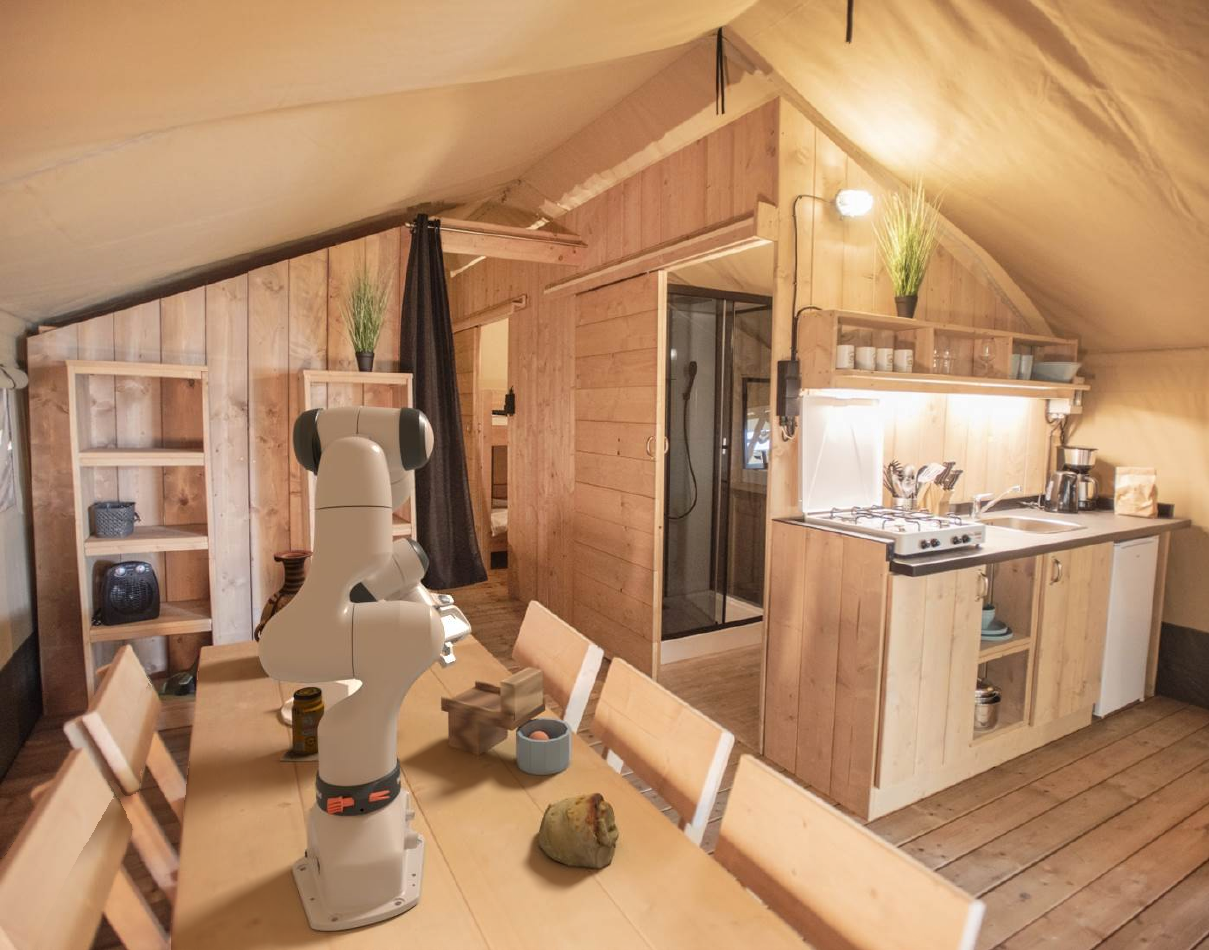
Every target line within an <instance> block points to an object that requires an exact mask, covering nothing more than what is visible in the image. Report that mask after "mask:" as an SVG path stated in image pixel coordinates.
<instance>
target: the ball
mask: <svg viewBox="0 0 1209 950" xmlns="http://www.w3.org/2000/svg"><path fill="white" fill-rule="evenodd" d="M529 738H530V739H532V740H549V738H548V736H547V735H546V734H545V733H544V732H541V731H536V732H534V733H532V734H531V735H530V736H529Z"/></svg>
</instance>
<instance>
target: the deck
mask: <svg viewBox="0 0 1209 950" xmlns="http://www.w3.org/2000/svg"><path fill="white" fill-rule="evenodd" d="M440 707H441V708H440V710H441V711H442V712H446V713H447V723H448V726H447V727H448V729H447V730H448V734H447V735H448V747H451V748H454V749H458V750H461V751H463V752H467V753H470V754H474V755H477V756H480V755H482V754H484V753H485V752H487V751H488V750H490V749H492V748H493V747H495V746H497V745H498V744H500V743H501V742H500V741H502V742H504V741H505V740H506V739H508V738H509V735H508V734H509V733H508V731H511V732H512V731H514V730H515V729H516V730H517V728H518V727H519V726H521V725H523V724H524V723H526V722H527V721H529V720H532V719H535V718H536V717H538V716H539V715H540V714H542V713H544V712H545V711H546V697H545V696H543V704H542V705H541V706H539V707H537V708H536V709H534V710H532V711H531V712H529V713H527V714H525V715H524V716H522V717H520V718H519V719H517V720H514V716H513V715H509V714H505V713H502V712H501V695H500V685H498V684H493V683H489V682H485V681H482V680H474V686H473V687H471V688H470V689H467V690H465V691H463V692H461V693H459V694H457V695H455V696H452V697H451V698H450V697H446V696H441V697H440ZM507 737H508V738H507ZM504 739H505V740H504ZM499 742H500V743H499ZM496 744H497V745H496Z"/></svg>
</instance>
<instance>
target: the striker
mask: <svg viewBox="0 0 1209 950" xmlns="http://www.w3.org/2000/svg"><path fill="white" fill-rule="evenodd" d="M543 675H544V670H543V669H539V668H535V667H531V666H528V667H526V668H523V669H522V670H520V671H518V672H516V673H514V674H512V675H509V676H508V677H506V678H504V679H502V680H500V683H499V684H500V685H499V686H500V695H501V712H502V713H505V714H509V715H513V716H514V720H517V719H519V718H520V717H522V716H524V715H525V714H527V713H529V712H531V711H532V710H534V709H536V708H537V707H539V706H541V705H542V704H543V697H544V676H543Z"/></svg>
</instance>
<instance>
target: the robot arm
mask: <svg viewBox="0 0 1209 950" xmlns="http://www.w3.org/2000/svg"><path fill="white" fill-rule="evenodd" d="M429 421H430V420H429V418H428V416H427V415H426V414H425V413H423V411H421V409H417V408H412V407H407V406H406V407H405V406H403V407H401V408H398V407H397V408H395V407H385V406H384V407H383V406H364V405H352V406H351V405H350V406H339V407H331V408H325V409H324V408H323V407H318V408H314V409H313V408H312V409H309V410H305V411H302V413H300V415H299V416H297V418H296V420H295V422H294V423H293V430H292V436H291V442H292V443H291V445H292V448H293V452H294V454H295V458H296V461H297V463H299V464H300V466H302V467H303V468H304V469H305V470H306V471H309V472H312V473H313V475H314V476H316V481H315V492H314V528H313V529H314V533H313V534H314V535H313V547H312V548H313V549H312V552H313V555H312V557H311V563H310V567H309V570H308V573H307V576H306V578H305V582H304V584H303V585H302V587H301V589H300V590H299V592H298V593H297V594H296V595H295V597H294V598H293V599H292V600H291V601H290V602H289V603H288V604H287V605H286V606H285V607H284V608H283V609H281V610H280V611H279V612H277V613H276V614H275V615H274V616H273V617H272V618H271V619H270V620H269V621H268V622H267V624H266V625H265V627H264V629H263V630H262V633H261V635H260V634H259V638H260V639H259V643H257V644H258V645H257V646H258V647H257V651H258V652H257V653H258V658H259V662H260V664H261V666H262V669H263V671H264V672H265V673H266V674H267V675H268V676H269V677H270V678H271V679H272V680H273V681H278V682H279V681H280V682H285V683H286V682H287V683H296V684H302V683H318V682H329V681H340V680H351V679H355V680H360V681H361V682H362V685H361V687H360V688H359V689H358V690H357V691H356V692H354V693H353V694H351V695H350V696H348V697H346V698H344V699H342V700H341V701H339V702H337V703H336V704H335V705H333V706H332V707H331V708H330V709H329V710H327V711H326V713H325V714H324V715H323V717H322V718H321V720H320V722H319V725H318V760H317V761H318V770H317V771H316V775H315V782H314V789H315V799H316V801H315V802H314V804H313V805H312V806H311V807H310V808H309V809H308V810H307V812H306V819H305V820H306V822H305V824H306V849H305V851H304V856H302V857H300V858H299V859H297V860H296V861H295V862H294V863H293V864H292V875H293V878H294V881H295V885H296V887H297V890H298V893H299V896H300V899H301V902H302V905H303V909H304V911H305V914H306V916H307V921H308V923H309V926H310V928H311V929H312V930H316V931H326V932H327V931H329V932H330V931H341V930H342V931H343V930H348V929H355V928H358V927H363V926H367V925H371V924H374V923H378V922H382V921H385V920H388V919H390V918H393V917H395V916H397V915H400V914H402V913H404V912H406V911H408V910H410V909H411V908H412V907H414V906H415V905H417V904H418V903H419V902H420V899H421V890H422V879H423V871H424V870H423V867H424V859H425V848H426V840H425V836H424V835H423V834H422V833H421V834H420V833H419V832H418V830H415V828H411V827H412V825H411V821H414V820H415V819H414V817H415V810H414V809H411V802H410V799H411V797H410V792H409V791H408V790H406V789H405V788H403V787H402V780H401V779H402V769H401V768H402V767H400V766H401V763H400V759H399V757H397V756H398V750H397V749H398V747H397V745H398V743H397V742H398V725H399V716H400V711H401V708H402V705H403V702H404V700H405V698H406V696H407V694H408V693H409V691H410V690H411V687H412V686H413V685H414V683H415V682H416V681H417V680H418V679H419V678H420V677H421V676H422V675H424V673H425V672H426V671H428V670H429V669H430V668H432V667H433V666H434V665H435V663H436V662H437V663H439V665H440V667H441V669H447V668H448V667H451V666H453V665H455V664H456V663H457V658H456V657H455V655H454V648H453V645H455V644H456V643H460V642H461V641H464V640H465V639H466V638H467V637H469V635H470V634H471V633H472V626H471V624H470V622H469V620H468V619H467V617H466V616H465V614H464V613H463V611H461V609H460V608H459V607H458V606H456V605H454V602H455V600H454V599H453V597H452V596H451V595H450V594H441V593H435V592H429V590H428V589H427V588H426V587H425V586H424V584H423V583H422V582H421V580H422V579H424V578H425V576H426V574H427V571H428V568H429V566H430V559H429V558H428V555H427V554H426V552H425V550H424V549H423V547H422V546H421V545H420V543H419V542H418V541H416V540H415V539H412V538H409V537H402V538H399V539H396V540H394V539H393V538H394V537H393V533H394V532H393V514H394V513H396V512H397V511H398V510H399V509H400V508H402V507H403V506H404V504H405V503H406V502H407V501H408V499H409V498H410V496H411V495H412V492H413V487H414V470H418V469H420V468H424V466H425V465H426V464H427V463H428V462H429V461H430V458H431V457H430V456H431V454H432V451H433V448H434V443H435V440H434V439H435V437H434V432H433V428H432V426H431V424H430V422H429ZM393 540H394V541H393ZM382 600H384V601H382ZM443 653H444V654H443Z"/></svg>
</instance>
